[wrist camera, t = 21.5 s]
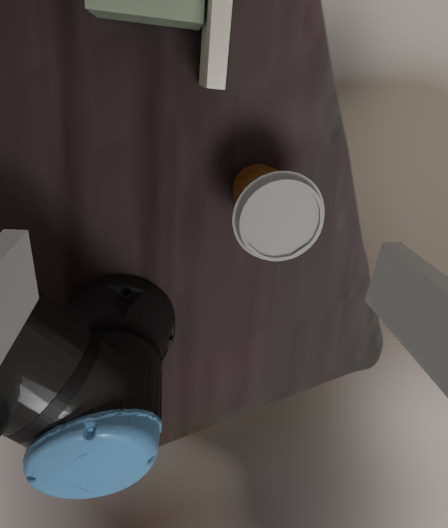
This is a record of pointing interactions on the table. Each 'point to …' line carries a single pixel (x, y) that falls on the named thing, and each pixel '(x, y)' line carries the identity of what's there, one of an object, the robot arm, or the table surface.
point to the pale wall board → (215, 43)
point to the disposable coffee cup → (276, 212)
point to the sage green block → (151, 12)
